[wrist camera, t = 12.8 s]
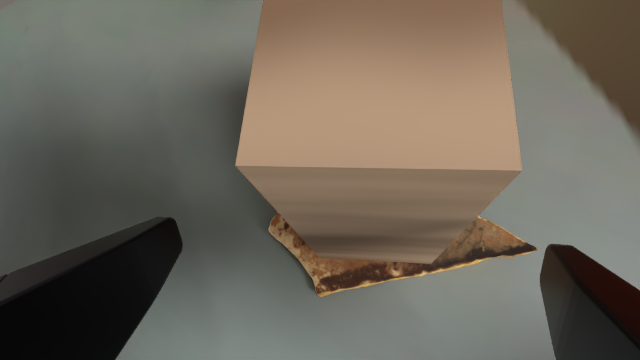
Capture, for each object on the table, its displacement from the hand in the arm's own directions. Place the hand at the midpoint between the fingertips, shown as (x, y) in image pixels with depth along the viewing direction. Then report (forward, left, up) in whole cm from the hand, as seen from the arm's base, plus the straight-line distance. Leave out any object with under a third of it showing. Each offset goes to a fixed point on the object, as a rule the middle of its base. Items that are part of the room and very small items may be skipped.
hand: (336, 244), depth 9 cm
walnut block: (+3, 0, -8) cm, 9 cm away
